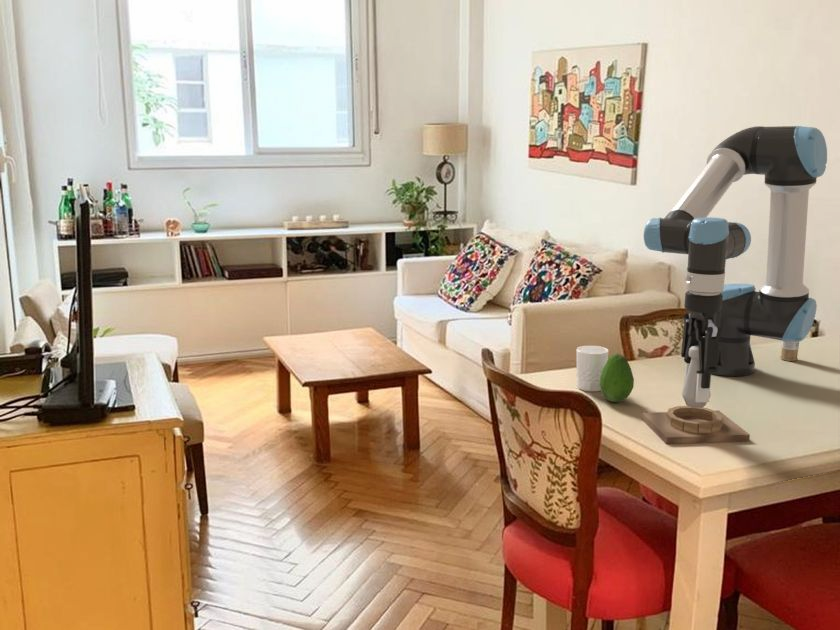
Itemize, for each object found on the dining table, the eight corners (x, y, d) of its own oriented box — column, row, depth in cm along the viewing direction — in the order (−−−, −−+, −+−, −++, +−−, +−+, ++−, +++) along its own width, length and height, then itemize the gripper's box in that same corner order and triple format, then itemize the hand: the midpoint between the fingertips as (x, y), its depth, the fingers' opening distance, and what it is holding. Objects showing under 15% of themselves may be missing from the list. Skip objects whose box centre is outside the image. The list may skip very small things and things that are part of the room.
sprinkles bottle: (787, 356, 238) (791, 310, 235) (801, 360, 234) (806, 313, 231) (776, 358, 236) (781, 312, 233) (790, 362, 232) (795, 315, 229)
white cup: (570, 389, 209) (572, 351, 207) (580, 381, 216) (581, 344, 214) (601, 394, 206) (603, 355, 203) (610, 385, 212) (612, 347, 210)
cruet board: (718, 416, 190) (719, 402, 189) (749, 441, 175) (750, 425, 174) (641, 419, 188) (642, 404, 188) (666, 444, 174) (667, 428, 173)
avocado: (604, 407, 196) (606, 358, 193) (594, 396, 204) (597, 349, 201) (637, 406, 197) (640, 357, 194) (626, 395, 204) (629, 348, 202)
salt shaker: (701, 399, 184) (705, 342, 181) (714, 408, 178) (719, 349, 175) (676, 401, 183) (680, 344, 180) (689, 409, 177) (693, 351, 174)
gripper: (670, 283, 184) (663, 384, 189) (705, 301, 165) (696, 411, 171) (702, 283, 184) (695, 383, 189) (741, 300, 166) (732, 410, 171)
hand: (695, 396), depth 180 cm, fingers closed on salt shaker, 6 cm apart
